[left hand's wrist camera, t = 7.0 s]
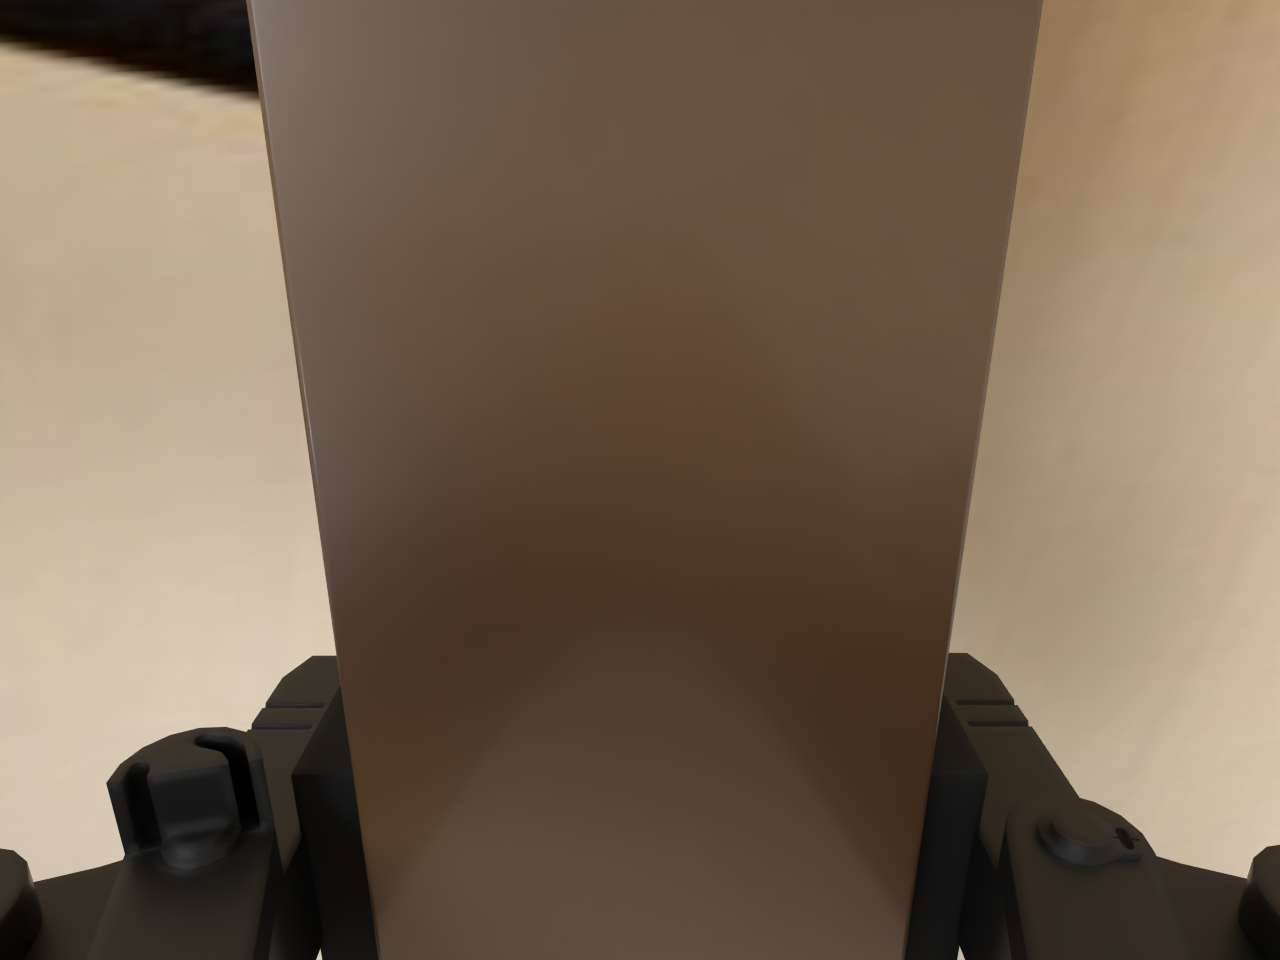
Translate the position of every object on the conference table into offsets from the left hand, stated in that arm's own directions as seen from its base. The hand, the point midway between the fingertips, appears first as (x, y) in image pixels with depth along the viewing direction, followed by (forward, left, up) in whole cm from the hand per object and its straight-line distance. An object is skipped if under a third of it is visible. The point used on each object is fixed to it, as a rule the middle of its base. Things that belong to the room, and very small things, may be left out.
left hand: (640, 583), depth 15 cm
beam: (+17, +19, -1) cm, 25 cm away
